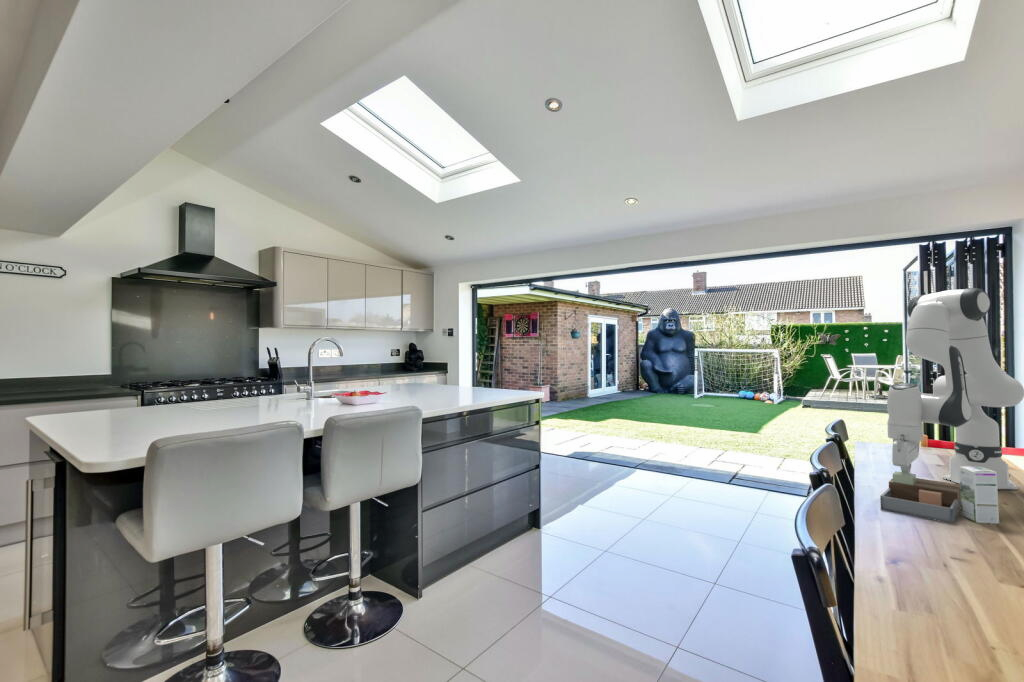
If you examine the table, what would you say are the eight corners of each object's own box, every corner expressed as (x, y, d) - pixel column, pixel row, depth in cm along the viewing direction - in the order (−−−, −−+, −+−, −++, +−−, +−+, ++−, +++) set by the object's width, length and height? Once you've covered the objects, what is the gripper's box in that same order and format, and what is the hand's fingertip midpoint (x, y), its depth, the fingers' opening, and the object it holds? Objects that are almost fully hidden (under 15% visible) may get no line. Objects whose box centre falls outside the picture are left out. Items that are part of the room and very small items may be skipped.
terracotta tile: (919, 489, 143) (918, 490, 141) (941, 492, 139) (941, 494, 138) (920, 505, 143) (919, 507, 141) (942, 509, 139) (941, 511, 138)
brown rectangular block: (896, 492, 157) (896, 475, 157) (962, 504, 145) (961, 484, 146) (889, 500, 149) (888, 481, 150) (958, 513, 137) (957, 492, 138)
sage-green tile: (896, 479, 153) (895, 471, 153) (916, 482, 149) (915, 474, 149) (892, 481, 149) (892, 474, 149) (913, 485, 146) (912, 477, 146)
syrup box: (1000, 524, 129) (998, 471, 129) (975, 523, 130) (973, 470, 130) (984, 517, 134) (982, 466, 134) (960, 515, 135) (958, 465, 136)
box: (889, 500, 149) (888, 488, 150) (958, 513, 137) (957, 499, 138) (880, 509, 141) (880, 496, 142) (953, 523, 129) (952, 508, 130)
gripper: (911, 438, 143) (912, 484, 143) (923, 431, 156) (924, 472, 156) (885, 436, 148) (886, 479, 147) (898, 428, 161) (900, 469, 161)
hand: (906, 476), depth 152 cm, fingers closed
